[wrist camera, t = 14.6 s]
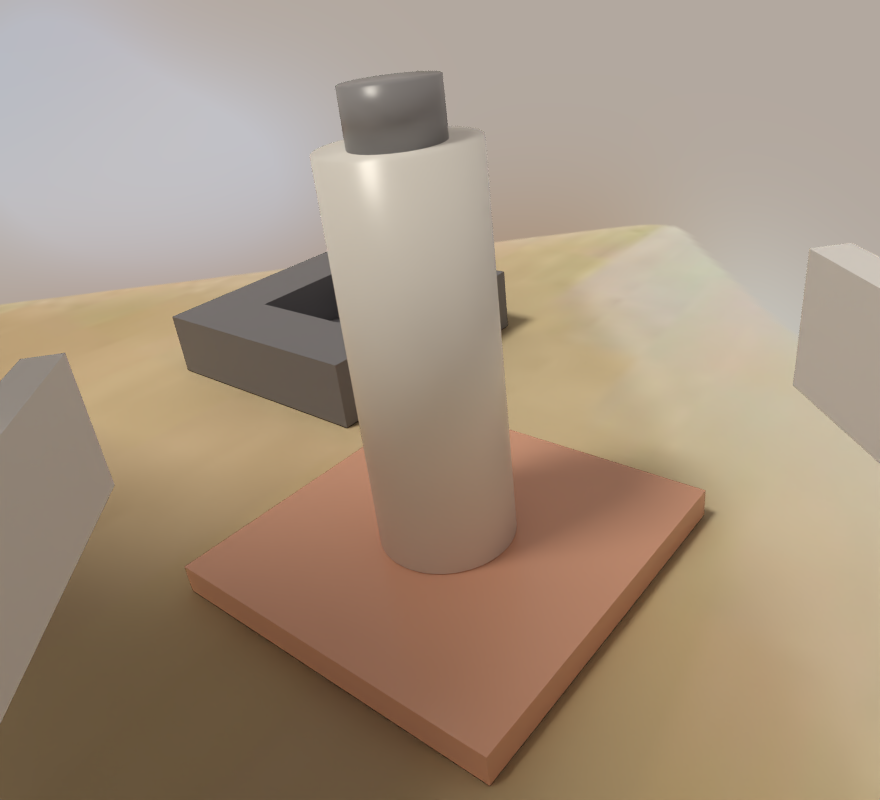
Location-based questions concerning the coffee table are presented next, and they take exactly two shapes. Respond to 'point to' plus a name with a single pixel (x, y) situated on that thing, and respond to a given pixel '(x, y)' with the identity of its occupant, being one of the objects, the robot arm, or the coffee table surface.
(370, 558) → the tile
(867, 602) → the coffee table surface
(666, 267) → the coffee table surface
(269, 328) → the socket block
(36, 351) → the coffee table surface
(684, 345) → the coffee table surface
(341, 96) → the plug
